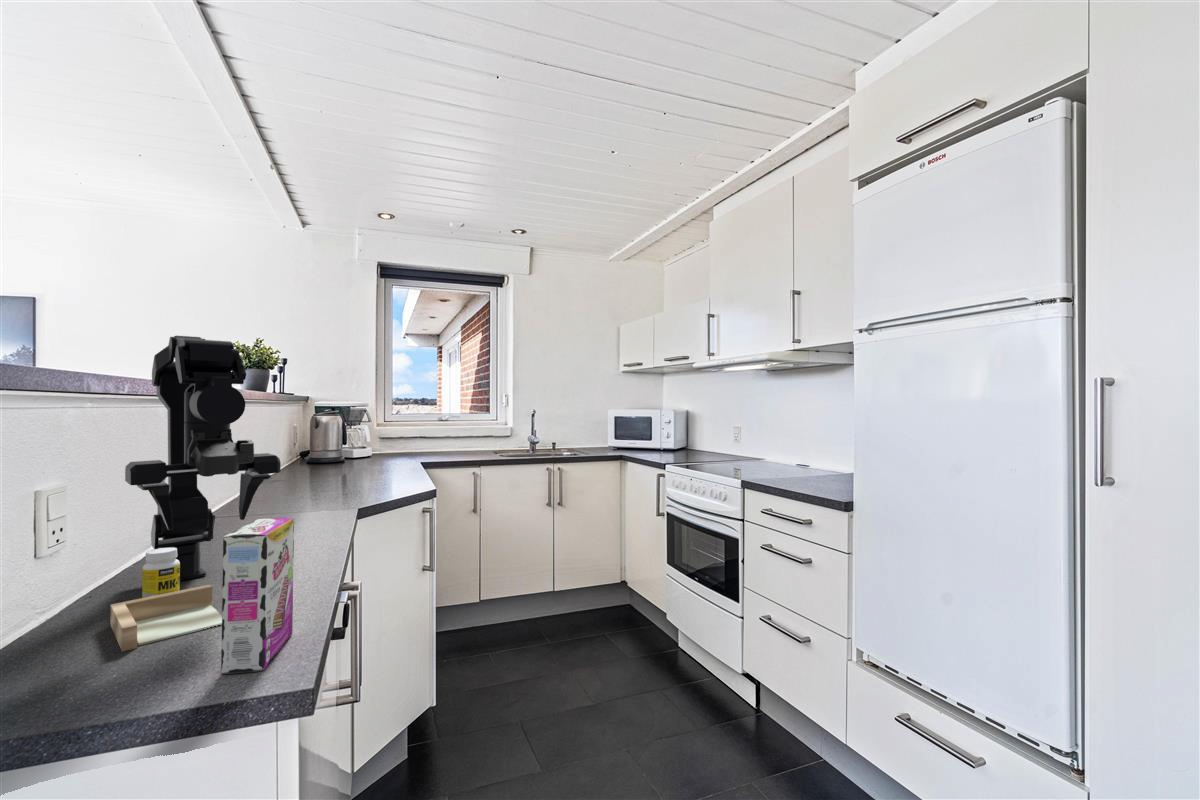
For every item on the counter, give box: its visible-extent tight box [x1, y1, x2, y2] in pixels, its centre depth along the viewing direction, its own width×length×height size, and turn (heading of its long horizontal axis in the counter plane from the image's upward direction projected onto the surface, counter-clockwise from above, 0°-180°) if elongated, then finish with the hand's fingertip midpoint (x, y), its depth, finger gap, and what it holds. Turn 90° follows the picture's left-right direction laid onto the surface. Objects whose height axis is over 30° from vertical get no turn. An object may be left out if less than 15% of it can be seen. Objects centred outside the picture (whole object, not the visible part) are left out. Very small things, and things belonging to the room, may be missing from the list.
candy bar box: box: [220, 517, 295, 675], centre depth 71 cm, size 11×5×16 cm, turn 13°
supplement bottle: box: [141, 548, 181, 598], centre depth 90 cm, size 5×5×8 cm
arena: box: [109, 584, 222, 653], centre depth 80 cm, size 12×12×3 cm
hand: (207, 524), depth 85 cm, fingers open, 9 cm apart
